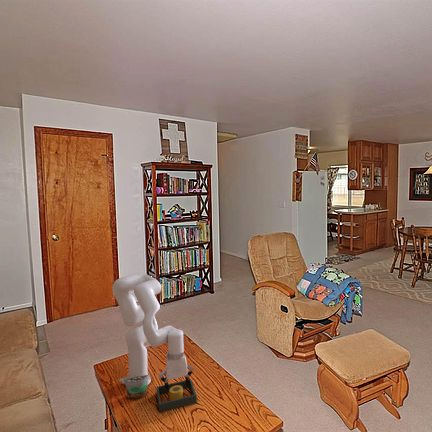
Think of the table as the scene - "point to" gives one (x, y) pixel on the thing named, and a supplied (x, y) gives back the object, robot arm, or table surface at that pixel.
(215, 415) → the table surface
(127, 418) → the table surface
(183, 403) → the dark green rectangular frame
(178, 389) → the tape roll
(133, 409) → the table surface
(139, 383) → the food container
